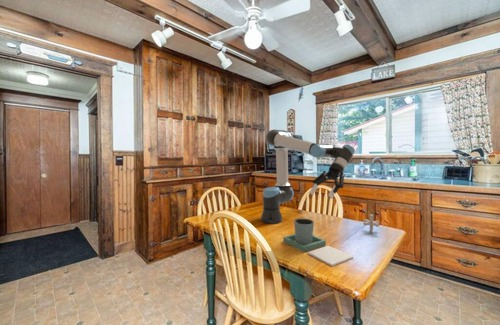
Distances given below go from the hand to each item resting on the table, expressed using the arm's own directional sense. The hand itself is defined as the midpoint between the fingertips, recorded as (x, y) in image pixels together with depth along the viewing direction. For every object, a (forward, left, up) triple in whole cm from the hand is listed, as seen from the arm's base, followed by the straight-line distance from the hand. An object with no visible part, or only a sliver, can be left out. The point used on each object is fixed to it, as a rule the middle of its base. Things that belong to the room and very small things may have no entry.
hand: (320, 195), depth 124 cm
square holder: (0, -12, -24) cm, 27 cm away
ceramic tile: (+17, -12, -24) cm, 32 cm away
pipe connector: (+8, +35, -25) cm, 43 cm away
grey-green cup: (0, -12, -25) cm, 27 cm away
